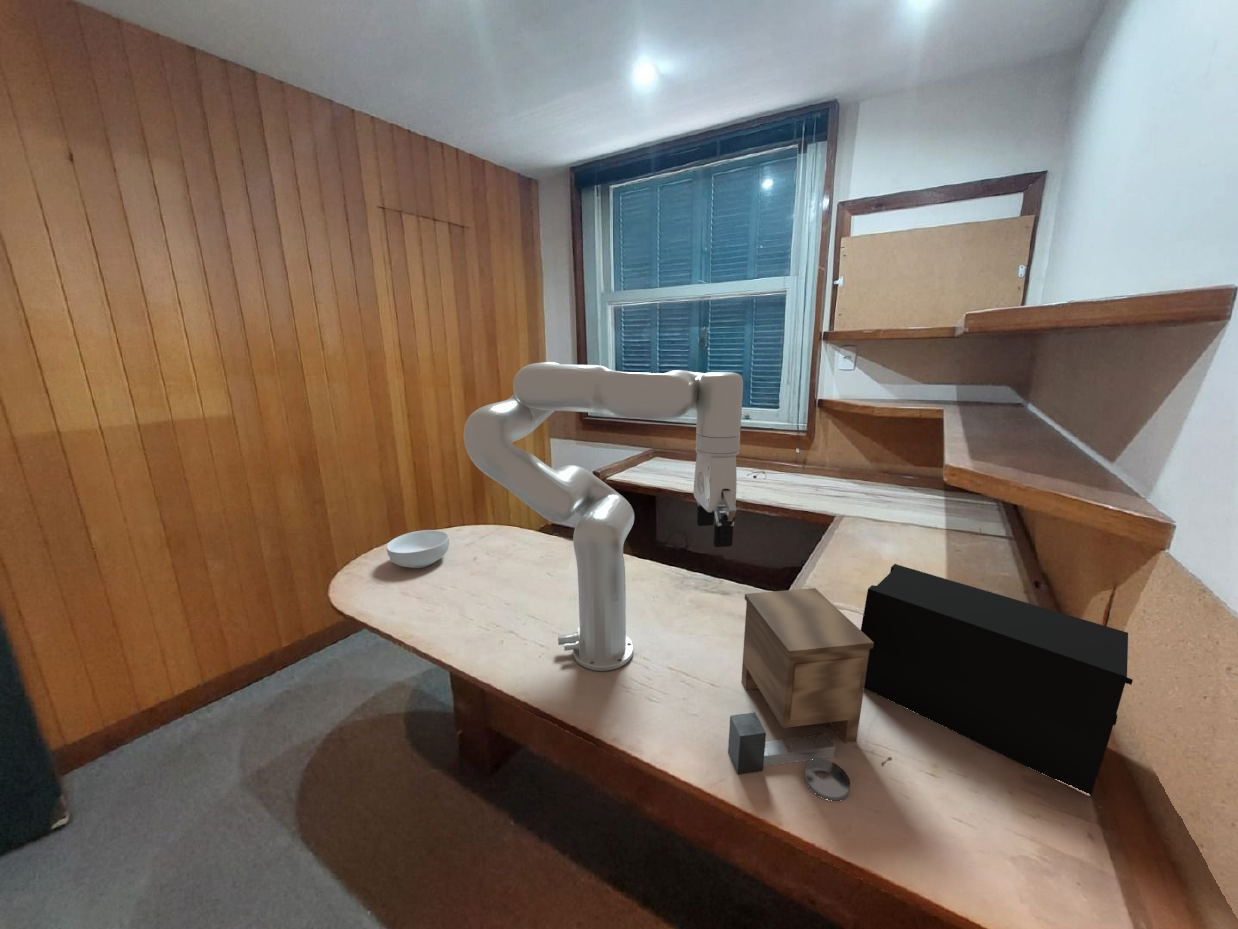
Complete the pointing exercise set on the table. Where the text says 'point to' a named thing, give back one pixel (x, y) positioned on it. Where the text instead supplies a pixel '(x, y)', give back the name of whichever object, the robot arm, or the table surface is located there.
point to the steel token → (827, 779)
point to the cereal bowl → (418, 548)
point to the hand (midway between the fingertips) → (713, 535)
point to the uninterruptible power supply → (998, 671)
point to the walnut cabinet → (805, 659)
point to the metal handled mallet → (770, 746)
